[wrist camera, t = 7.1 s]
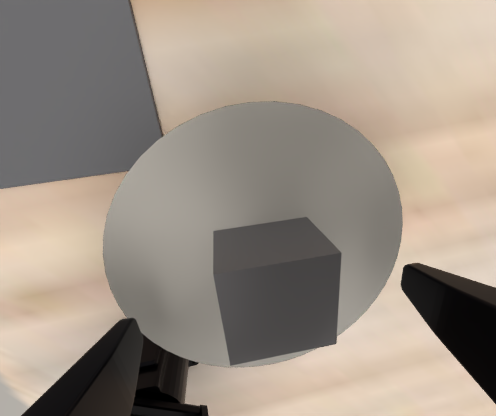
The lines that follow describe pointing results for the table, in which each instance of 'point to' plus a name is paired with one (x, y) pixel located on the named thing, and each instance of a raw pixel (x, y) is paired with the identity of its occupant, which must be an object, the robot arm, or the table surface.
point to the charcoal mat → (71, 91)
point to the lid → (252, 234)
